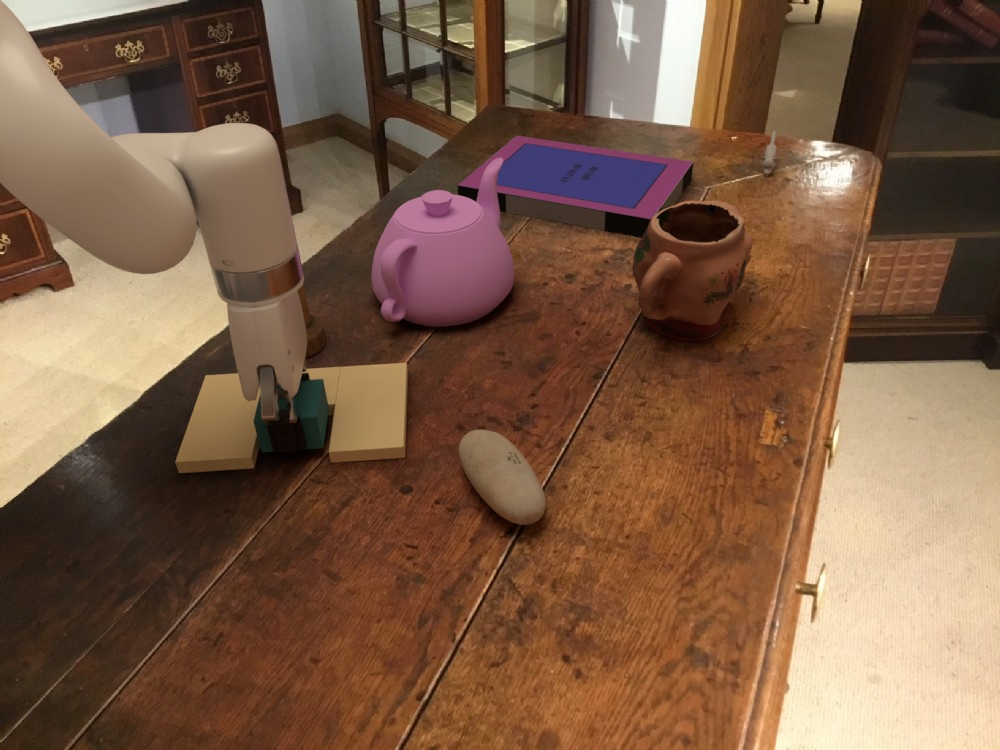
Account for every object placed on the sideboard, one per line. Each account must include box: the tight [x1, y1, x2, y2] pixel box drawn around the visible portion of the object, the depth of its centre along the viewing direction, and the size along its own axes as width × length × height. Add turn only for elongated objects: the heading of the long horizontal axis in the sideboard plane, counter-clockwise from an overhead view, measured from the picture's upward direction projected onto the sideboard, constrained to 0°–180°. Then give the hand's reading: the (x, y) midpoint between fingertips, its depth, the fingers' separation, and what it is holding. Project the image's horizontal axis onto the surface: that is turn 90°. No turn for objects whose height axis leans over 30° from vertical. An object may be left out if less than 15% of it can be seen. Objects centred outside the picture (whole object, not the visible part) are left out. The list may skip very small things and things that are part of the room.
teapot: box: [371, 158, 516, 328], centre depth 104 cm, size 25×18×14 cm
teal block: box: [253, 379, 329, 453], centre depth 84 cm, size 6×6×4 cm
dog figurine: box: [758, 130, 781, 178], centre depth 134 cm, size 3×8×6 cm
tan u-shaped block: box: [174, 362, 409, 474], centre depth 88 cm, size 22×14×2 cm, turn 94°
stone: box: [458, 429, 547, 526], centre depth 78 cm, size 6×6×12 cm
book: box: [457, 135, 694, 238], centre depth 130 cm, size 21×3×30 cm
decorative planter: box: [632, 200, 753, 342], centre depth 96 cm, size 20×12×14 cm, turn 147°
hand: (294, 426), depth 85 cm, fingers closed on teal block, 5 cm apart
